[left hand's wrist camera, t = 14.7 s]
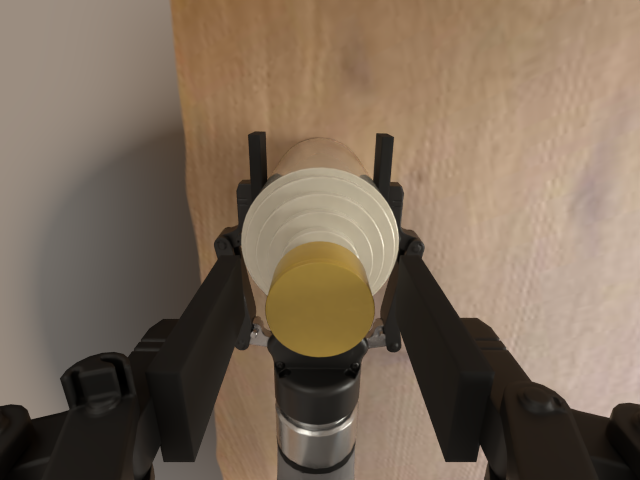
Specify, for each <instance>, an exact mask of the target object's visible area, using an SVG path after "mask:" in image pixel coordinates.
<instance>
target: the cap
mask: <svg viewBox="0 0 640 480" xmlns="http://www.w3.org/2000/svg"><path fill="white" fill-rule="evenodd" d="M265 312H266V319H267V323H268V325H269V328H270V329H271V331H272V333H273V334H274V336H275V337H276V338H277V339H278V340H279V341H280V342H281V343H282V344H283V345H284V346H286V347H287V348H289V349H290V350H292V351H294V352H297V353H299V354H302V355H306V356H311V357H329V356H334V355H338V354H341V353H344V352H346V351H348V350H350V349H351V348H353V347H354V346H356V345H357V344H358V343H359V342H361V341H362V339H363V338H364V337H365V336H366V334H367V333H368V332H369V330H370V328H371V326H372V323H373V319H374V314H375V306H374V300H373V296H372V292H371V289H370V285H369V281H368V278H367V274H366V271H365V268H364V266H363V264H362V263H361V261H360V260H359V259H358V257H357V256H356V255H355V254H354V253H352V252H351V251H350V250H348V249H347V248H345V247H343V246H341V245H338V244H335V243H332V242H325V241H315V242H308V243H305V244H302V245H299V246H297V247H295V248H293V249H292V250H290V251H289V252H288V253H286V254H285V255H284V256H283V257H282V259H281V260H280V261H279V263H278V265H277V266H276V268H275V271H274V274H273V278H272V281H271V285H270V289H269V292H268V296H267V300H266V308H265Z"/></svg>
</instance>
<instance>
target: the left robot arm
mask: <svg viewBox="0 0 640 480" xmlns="http://www.w3.org/2000/svg"><path fill="white" fill-rule="evenodd" d="M244 318H245V307H244V295H243V283H242V271H241V259H240V255H220V257H219V259H218V260H217V262H216V263H215V265H214V266H213V268H212V269H211V271H210V272H209V274H208V276H207V277H206V279H205V280H204V282H203V283H202V285H201V286H200V288H199V290H198V291H197V293H196V294H195V296H194V297H193V299H192V300H191V302H190V304H189V305H188V307H187V308H186V310H185V311H184V313H183V314H182V316H181V317H180V319H163V320H161V321H160V322H158V323H157V324H155V325H154V326H152V327H151V328H150V329H149V330H148V331H147V332H146V334H145V335H144V336H143V338H142V339H141V342H139V343H138V345H137V346H136V347H135V348H134V351H132V352H131V354H130V355H129V357H126V356H125V355H124V354H121V353H116V352H109V353H100V354H97V355H93V356H89V357H87V358H85V359H83V360H81V361H79V362H77V363H75V364H74V365H73V366H72V367H70V368H69V369H67V370H66V371H65V373H64V374H63V375H62V377H61V378H60V380H61V383H62V386H63V389H64V393H65V396H66V399H67V402H68V405H69V410H68V411H65V412H61V413H57V414H53V415H48V416H44V417H40V418H36V419H31V418H30V416H29V413H28V410H27V409H25V408H24V407H23V406H21V405H12V404H10V405H5V406H0V480H155V475H154V468H153V464H152V462H153V460H154V458H155V456H156V454H157V451H158V449H159V447H161V452H162V456H163V461H164V462H195V459H196V456H197V453H198V450H199V447H200V445H201V442H202V439H203V436H204V433H205V430H206V427H207V424H208V422H209V419H210V416H211V413H212V410H213V407H214V404H215V401H216V399H217V396H218V393H219V390H220V387H221V384H222V381H223V378H224V376H225V373H226V370H227V367H228V364H229V361H230V358H231V355H232V353H233V350H234V347H235V344H236V341H237V338H238V335H239V332H240V330H241V327H242V324H243V321H244ZM395 318H396V321H397V324H398V327H399V330H400V332H401V335H402V338H403V341H404V344H405V347H406V350H407V353H408V355H409V358H410V361H411V364H412V367H413V370H414V373H415V376H416V378H417V381H418V384H419V387H420V390H421V393H422V396H423V399H424V401H425V404H426V407H427V410H428V413H429V416H430V419H431V422H432V424H433V427H434V430H435V433H436V436H437V439H438V442H439V445H440V447H441V450H442V453H443V456H444V459H445V462H476V461H477V456H478V452H479V447H480V445H481V447H482V450H483V452H484V454H485V456H486V458H487V460H488V464H487V468H486V473H485V477H484V480H640V405H639V404H633V403H623V404H618V405H617V406H616V407H614V408H613V410H612V413H611V416H610V418H607V417H603V416H598V415H594V414H590V413H585V412H581V411H577V410H574V409H571V408H570V407H569V406H568V404H567V403H566V401H565V400H564V399H563V398H562V397H561V396H560V395H558V394H557V393H556V392H555V391H553V390H551V389H549V388H547V387H546V386H544V385H541V384H538V383H535V382H532V381H531V380H530V379H529V377H528V376H527V375H526V373H525V372H524V371H523V369H522V368H521V367H520V365H519V364H518V363H517V361H516V360H515V359H514V357H513V356H512V355H511V353H510V352H509V351H508V350H506V347H505V346H504V344H503V343H502V342H501V341H499V338H498V336H497V335H496V334H495V332H494V331H493V330H492V328H491V327H489V326H488V325H487V324H485V323H484V322H482V321H481V320H479V319H478V318H460V317H459V316H458V314H457V313H456V311H455V310H454V308H453V307H452V305H451V303H450V302H449V300H448V299H447V297H446V296H445V294H444V293H443V291H442V289H441V288H440V286H439V285H438V283H437V282H436V280H435V279H434V277H433V276H432V274H431V272H430V271H429V269H428V268H427V266H426V265H425V263H424V262H423V260H422V259H421V257H420V255H400V259H399V271H398V283H397V295H396V307H395Z"/></svg>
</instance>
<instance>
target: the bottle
mask: <svg viewBox="0 0 640 480" xmlns="http://www.w3.org/2000/svg"><path fill="white" fill-rule="evenodd" d="M315 241H325V242H332V243H335V244H338V245H341V246H343V247H345V248H347V249H348V250H350V251H351V252H352V253H354V254H355V255H356V256H357V257H358V259H359V260H360V261H361V263H362V264H363V266H364V268H365V271H366V274H367V278H368V281H369V285H370V289H371V292H372V296H373V295H374V294H375V293H376V292H377V291H378V290H379V289H380V288H381V287H382V286H383V284H384V283H385V282H386V280H387V279H388V277H389V275H390V273H391V271H392V269H393V267H394V265H395V262H396V259H397V254H398V246H399V236H398V228H397V224H396V220H395V217H394V215H393V212H392V210H391V208H390V206H389V205H388V203H387V201H386V200H385V198H384V197H383V195H382V194H381V192H380V191H379V189H378V188H377V186H376V185H375V183H374V182H373V180H372V179H371V177H370V176H369V174H368V173H367V171H366V170H365V168H364V167H363V165H362V164H361V162H360V161H359V159H358V158H357V156H356V155H355V154H354V153H353V152H352V151H351V150H350V149H349V148H348V147H346V146H345V145H343V144H342V143H340V142H337V141H335V140H331V139H327V138H313V139H308V140H305V141H303V142H300V143H298V144H297V145H295V146H293V147H292V148H291V149H290V150H289V151H288V152H287V153H286V154H285V155H284V156H283V158H282V159H281V161H280V162H279V164H278V165H277V167H276V168H275V170H274V171H273V173H272V174H271V176H270V178H269V179H268V181H267V182H266V184H265V185H264V187H263V188H262V190H261V191H260V193H259V194H258V196H257V197H256V199H255V200H254V202H253V203H252V205H251V206H250V208H249V210H248V212H247V214H246V217H245V220H244V223H243V228H242V236H241V246H242V254H243V258H244V262H245V264H246V267H247V269H248V272H249V273H250V275H251V277H252V279H253V280H254V281H255V283H256V284H257V285H258V287H259V288H260V289H261V290H262V291H263V292H264V293H265V294H266V295H267V296H268V292H269V289H270V285H271V281H272V278H273V274H274V271H275V268H276V266H277V265H278V263H279V261H280V260H281V259H282V257H283V256H284V255H285V254H286V253H288V252H289V251H290V250H292V249H293V248H295V247H297V246H299V245H302V244H305V243H308V242H315Z"/></svg>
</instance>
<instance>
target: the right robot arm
mask: <svg viewBox="0 0 640 480" xmlns="http://www.w3.org/2000/svg"><path fill="white" fill-rule="evenodd" d="M248 140H249V160H250V179H251V180H242V181H241V182H240V183H239V185H238V188H237V204H238V205H237V206H238V221H239V224H238V225H237V226H234V227H227V228H225V229H224V230H223V231H222V232H221V234H220V235H219V236H218V238H217V239H216V240H215V242H214V248H215V251H216V255H217V258H218V259H219V257H220V255H240V259H241V271H242V283H243V295H244V307H245V318H244V321H243V324H242V327H241V330H240V332H239V335H238V338H237V341H236V344H235V347H236V348H237V349H239V350H245V349H247V348H248V346H249V344H252V345H259V346H265V347H267V348H268V351H269V352H270V354H271V355H272V357H273V360H274V378H275V398H276V403H275V408H276V427H277V444H278V472H277V480H354V456H355V441H356V434H357V418H358V398H359V387H360V372H361V361H362V358H363V357H364V355H365V354H366V353H367V351H368V348H375V347H383V346H386V347H387V350H388V351H390V352H397V351H399V350H400V349H401V337H400V330H399V327H398V324H397V321H396V318H395V307H396V295H397V283H398V271H399V259H400V255H420V257H421V259H422V255H423V252H424V248H425V246H424V244H423V242H422V241H421V240H420V238H419V237H418V236H417V234H416V233H415V232H414V231H412V230H406V229H403V228H401V217H402V206H403V197H404V192H403V189H402V186H401V185H400V184H399V183H398V182H390V178H391V166H392V154H393V142H394V137H393V136H391V135H389V134H380V133H376V147H375V162H374V177H373V182H374V183H375V185H376V186H377V188H378V189H379V191H380V192H381V194H382V195H383V197H384V198H385V200H386V201H387V203H388V205H389V206H390V208H391V210H392V212H393V215H394V217H395V220H396V224H397V228H398V236H399V246H398V254H397V259H396V262H395V265H394V267H393V269H392V271H391V274H390V278H389V281H388V285H387V288H386V292H385V295H384V299H383V302H382V306H381V312H380V317H381V318H377V319H376V320H375V322H374V323H373V327H372V329H371V330H370V331H369V332H368V333H367V334H366V336H365V337H364V338H363V339H362V341H361V342H359V343H358V344H357V345H356V346H354V347H353V348H351V349H350V350H348V351H346V352H344V353H341V354H338V355H334V356H329V357H311V356H306V355H302V354H299V353H297V352H294V351H292V350H290V349H289V348H287V347H286V346H284V345H283V344H282V343H281V342H280V341H279V340H278V339H277V338H276V337H275V336H274V334H273V333H272V331H269V330H267V329H265V328H264V325H263V321H262V320H261V318H260V317H259V316H256V306H255V301H254V297H253V293H252V289H251V285H250V281H249V277H248V274H247V270H246V266H245V262H244V258H243V254H242V250H241V236H242V228H243V223H244V220H245V217H246V214H247V212H248V210H249V208H250V206H251V205H252V203H253V202H254V200H255V199H256V197H257V196H258V194H259V193H260V191H261V190H262V188H263V187H264V185H265V184H266V182H267V158H266V132H253V133H251V134H249V135H248Z"/></svg>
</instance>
